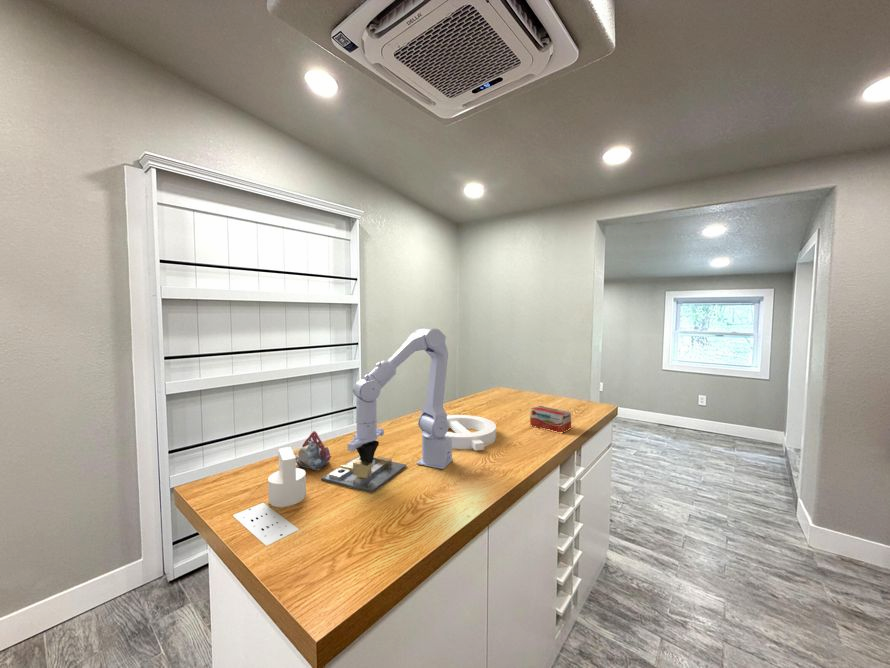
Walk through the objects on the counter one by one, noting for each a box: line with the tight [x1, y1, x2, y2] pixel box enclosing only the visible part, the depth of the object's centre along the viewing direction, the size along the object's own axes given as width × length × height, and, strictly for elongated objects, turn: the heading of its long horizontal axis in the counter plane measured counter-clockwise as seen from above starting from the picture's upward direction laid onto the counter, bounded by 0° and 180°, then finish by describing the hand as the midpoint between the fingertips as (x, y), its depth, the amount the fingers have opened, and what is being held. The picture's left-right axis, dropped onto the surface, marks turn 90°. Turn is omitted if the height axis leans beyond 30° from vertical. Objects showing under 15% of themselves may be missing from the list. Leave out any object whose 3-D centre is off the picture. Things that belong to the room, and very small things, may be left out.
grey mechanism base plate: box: [321, 455, 407, 494], centre depth 105 cm, size 18×18×3 cm
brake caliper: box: [295, 430, 332, 471], centre depth 110 cm, size 11×11×12 cm
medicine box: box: [529, 405, 572, 433], centre depth 149 cm, size 15×8×8 cm, turn 46°
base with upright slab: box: [267, 446, 307, 508], centre depth 91 cm, size 9×9×12 cm
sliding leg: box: [339, 460, 372, 478], centre depth 100 cm, size 10×2×4 cm, turn 66°
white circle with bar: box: [445, 414, 497, 451], centre depth 139 cm, size 28×28×5 cm
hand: (367, 466), depth 101 cm, fingers closed
